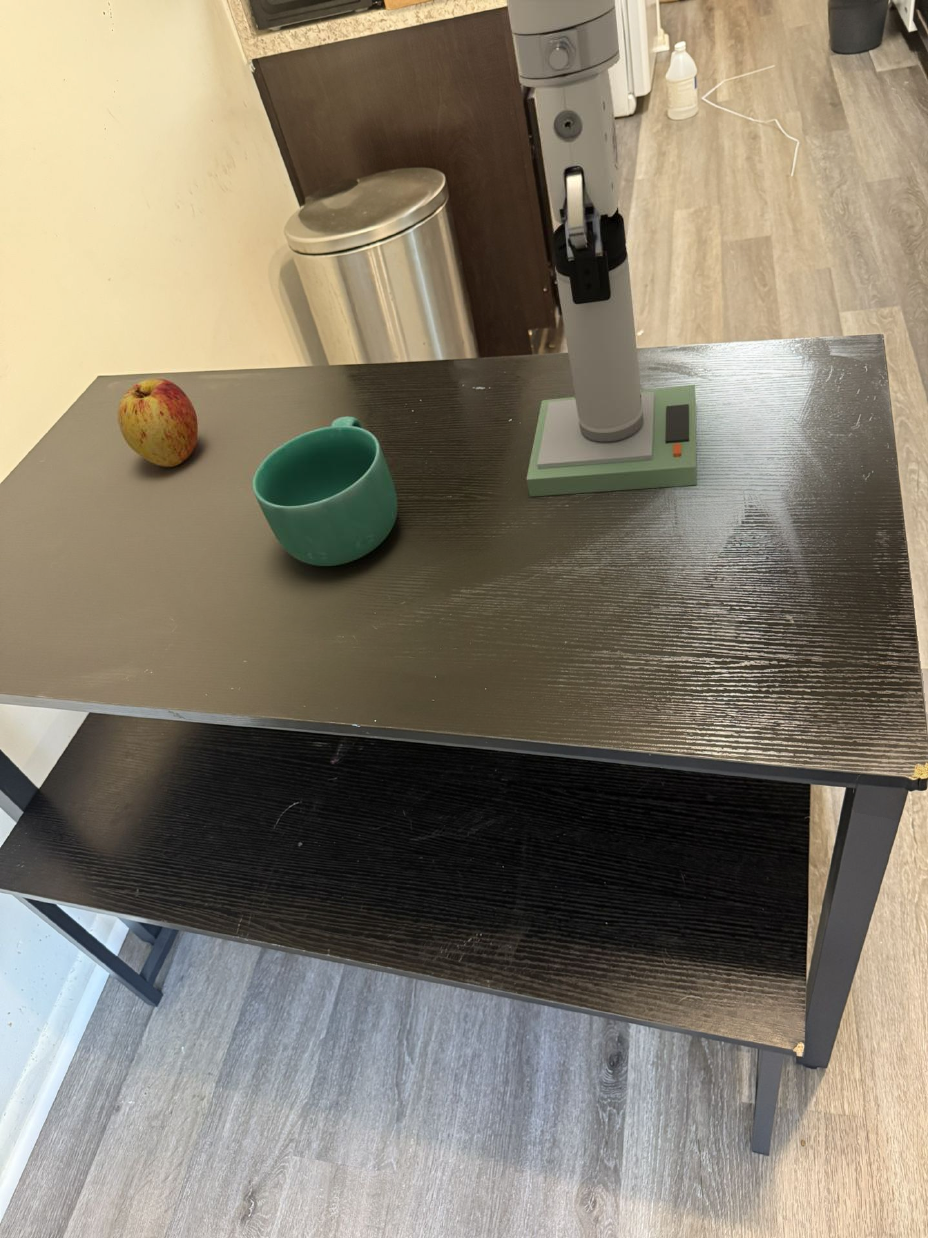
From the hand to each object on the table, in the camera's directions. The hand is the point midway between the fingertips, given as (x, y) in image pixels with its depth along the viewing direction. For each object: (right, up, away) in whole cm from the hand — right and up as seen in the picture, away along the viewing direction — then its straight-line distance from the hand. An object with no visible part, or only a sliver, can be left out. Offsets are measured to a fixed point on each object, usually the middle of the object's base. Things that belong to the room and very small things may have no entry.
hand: (595, 279), depth 76 cm
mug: (-23, -21, +13) cm, 33 cm away
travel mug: (+3, -10, +11) cm, 15 cm away
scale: (+4, -12, +12) cm, 18 cm away
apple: (-47, -10, +31) cm, 57 cm away
